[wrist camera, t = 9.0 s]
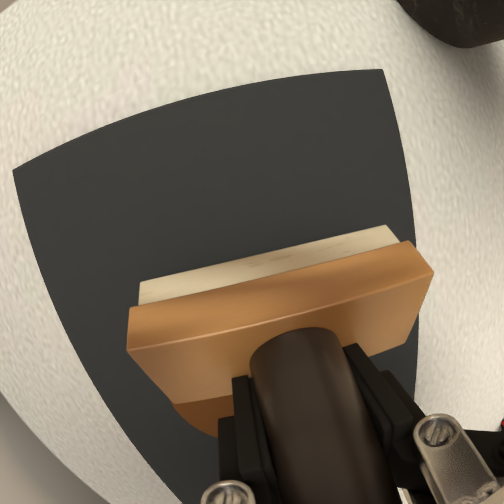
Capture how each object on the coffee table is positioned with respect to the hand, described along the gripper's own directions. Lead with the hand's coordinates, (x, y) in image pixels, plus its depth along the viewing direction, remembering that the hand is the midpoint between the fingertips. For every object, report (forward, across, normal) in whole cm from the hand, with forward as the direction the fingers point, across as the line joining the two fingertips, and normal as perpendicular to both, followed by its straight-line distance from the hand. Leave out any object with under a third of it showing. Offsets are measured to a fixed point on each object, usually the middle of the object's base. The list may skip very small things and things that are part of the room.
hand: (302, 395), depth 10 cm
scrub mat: (+4, +1, +1) cm, 4 cm away
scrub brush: (+2, 0, -3) cm, 4 cm away
